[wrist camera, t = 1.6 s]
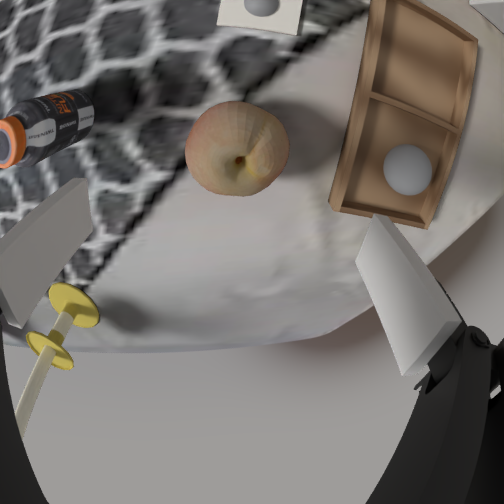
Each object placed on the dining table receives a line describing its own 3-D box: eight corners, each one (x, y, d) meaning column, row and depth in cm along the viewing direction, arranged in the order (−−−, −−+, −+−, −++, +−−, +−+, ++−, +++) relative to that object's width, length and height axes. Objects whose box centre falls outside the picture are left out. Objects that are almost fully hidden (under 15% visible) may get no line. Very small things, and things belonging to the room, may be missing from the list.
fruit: (247, 193, 28) (246, 233, 21) (181, 148, 25) (156, 175, 19) (299, 133, 24) (317, 153, 18) (230, 82, 22) (220, 81, 15)
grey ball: (382, 132, 23) (406, 145, 19) (421, 146, 24) (447, 161, 20) (369, 178, 26) (390, 198, 22) (407, 188, 27) (430, 208, 22)
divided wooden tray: (371, -10, 15) (381, -16, 13) (465, 39, 16) (478, 39, 14) (327, 200, 28) (333, 211, 26) (418, 219, 29) (427, 229, 27)
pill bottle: (103, 96, 22) (29, 116, 12) (88, 148, 25) (20, 191, 15) (61, 84, 20) (-15, 103, 11) (49, 134, 23) (-20, 170, 14)
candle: (54, 271, 34) (-30, 425, 12) (106, 306, 38) (46, 473, 15) (46, 304, 38) (-16, 434, 16) (91, 334, 42) (44, 471, 20)
